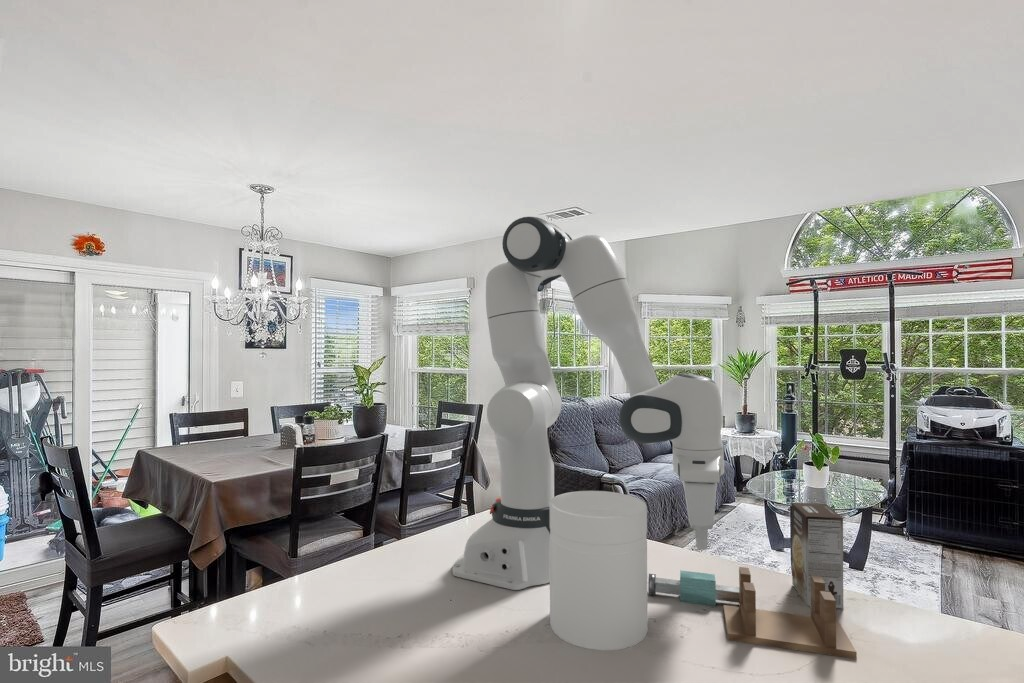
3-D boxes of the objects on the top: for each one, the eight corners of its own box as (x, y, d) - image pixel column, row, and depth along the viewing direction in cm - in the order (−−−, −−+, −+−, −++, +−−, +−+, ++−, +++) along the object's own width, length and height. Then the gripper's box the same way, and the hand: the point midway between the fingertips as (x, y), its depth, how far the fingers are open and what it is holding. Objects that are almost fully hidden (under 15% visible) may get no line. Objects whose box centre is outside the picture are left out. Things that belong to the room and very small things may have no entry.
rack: (728, 639, 85) (727, 588, 85) (723, 610, 95) (723, 564, 95) (856, 658, 80) (855, 603, 80) (838, 625, 89) (837, 576, 90)
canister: (651, 609, 95) (651, 495, 96) (642, 658, 80) (641, 522, 80) (562, 596, 100) (562, 487, 101) (538, 639, 85) (538, 511, 86)
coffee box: (790, 584, 105) (789, 501, 106) (826, 587, 104) (825, 503, 104) (806, 606, 96) (805, 515, 97) (846, 609, 95) (845, 517, 95)
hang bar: (648, 597, 100) (648, 573, 100) (649, 589, 103) (649, 566, 103) (750, 611, 95) (749, 585, 95) (747, 601, 98) (747, 577, 98)
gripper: (680, 451, 110) (682, 520, 110) (679, 473, 90) (682, 557, 90) (713, 452, 108) (716, 522, 108) (720, 475, 89) (723, 560, 88)
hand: (700, 538), depth 99 cm, fingers open, 8 cm apart
